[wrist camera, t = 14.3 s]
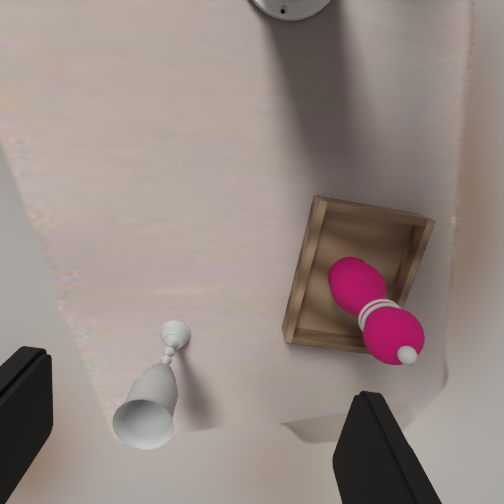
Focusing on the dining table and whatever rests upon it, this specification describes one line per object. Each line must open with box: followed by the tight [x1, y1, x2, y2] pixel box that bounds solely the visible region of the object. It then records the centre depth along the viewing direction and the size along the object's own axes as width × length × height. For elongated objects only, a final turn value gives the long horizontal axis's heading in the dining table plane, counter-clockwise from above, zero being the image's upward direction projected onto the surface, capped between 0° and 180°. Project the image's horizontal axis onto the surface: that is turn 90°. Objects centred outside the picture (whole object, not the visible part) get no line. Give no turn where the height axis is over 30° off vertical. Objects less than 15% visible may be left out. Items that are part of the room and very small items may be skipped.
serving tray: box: [282, 195, 435, 354], centre depth 49 cm, size 22×16×4 cm
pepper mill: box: [328, 257, 425, 365], centre depth 40 cm, size 7×7×20 cm
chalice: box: [113, 320, 191, 450], centre depth 45 cm, size 7×7×18 cm
